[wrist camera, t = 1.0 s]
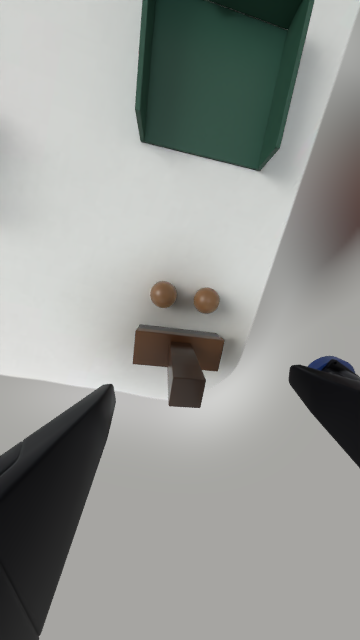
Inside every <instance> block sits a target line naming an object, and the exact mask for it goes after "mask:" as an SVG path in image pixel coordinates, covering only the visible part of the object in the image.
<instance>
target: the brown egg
mask: <svg viewBox="0 0 360 640" xmlns="http://www.w3.org/2000/svg"><path fill="white" fill-rule="evenodd" d="M150 297H151V300H152V302H153V303H154V304H155V305H156V306H158V307H160V308H167V307H170V306H172V305H173V304H174V302H175V301H176V298H177V292H176V289H175V287H174V286H173V285H172V284H171V283H169V282H166V281H160V282H157V283H156V284H155V285H154V286H153V287H152V289H151V292H150Z"/></svg>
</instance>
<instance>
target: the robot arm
mask: <svg viewBox="0 0 360 640" xmlns="http://www.w3.org/2000/svg"><path fill="white" fill-rule="evenodd" d="M289 383H290V385H291V386H292V388H293V389H294V390H295V392H296V393H297V394H298V396H299V397H300V398H301V400H302V401H303V402H304V404H305V405H306V406H307V408H308V409H309V410H310V412H311V413H312V414H313V415H314V416H315V417H316V419H317V420H318V421H319V422H320V423H321V424H322V426H323V427H324V428H325V429H326V430H327V431H328V432H329V434H330V435H331V436H332V437H333V438H334V439H335V440H336V441H337V442H338V444H339V445H340V446H341V447H342V448H343V449H344V451H345V452H346V453H347V454H348V455H349V456H350V457H351V459H352V460H353V461H354V462H355V463H356V464H357V465H358V466H359V468H360V377H359V376H358V375H356V374H355V373H354V372H352V371H351V370H350V369H348V368H347V367H346V366H344V365H343V364H341V363H340V362H339V361H337V360H335V359H331V360H330V361H329V362H328V363H327V365H326V366H325V367H324V368H323V369H322V370H317V369H313V368H310V367H306V366H302V365H292V366H291V367H290V372H289ZM115 403H116V398H115V392H114V387H113V385H112V384H105V385H102V386H101V387H99V388H98V389H96V390H95V391H94V392H92V393H91V394H89V395H88V396H86V397H85V398H83V399H82V400H81V401H79V402H78V403H76V404H75V405H73V406H72V407H70V408H69V409H68V410H66V411H65V412H63V413H62V414H60V415H59V416H58V417H56V418H54V419H53V420H52V421H50V422H49V423H47V424H46V425H45V426H43V427H41V428H40V429H39V430H37V431H36V432H34V433H33V434H31V435H30V436H29V437H27V438H26V439H24V440H23V442H20V443H19V444H17V445H15V446H14V447H12V448H11V449H10V450H8V451H7V452H5V453H4V454H2V455H1V456H0V640H39V635H40V634H41V632H42V629H43V626H44V623H45V620H46V617H47V614H48V611H49V608H50V605H51V602H52V599H53V596H54V593H55V591H56V587H57V585H58V581H59V579H60V576H61V573H62V570H63V567H64V564H65V561H66V558H67V555H68V552H69V549H70V546H71V544H72V540H73V537H74V535H75V532H76V529H77V526H78V523H79V520H80V517H81V514H82V511H83V508H84V505H85V502H86V499H87V497H88V494H89V491H90V488H91V485H92V482H93V479H94V476H95V473H96V470H97V467H98V464H99V461H100V458H101V455H102V452H103V449H104V446H105V444H106V441H107V437H108V433H109V429H110V425H111V421H112V416H113V412H114V407H115Z"/></svg>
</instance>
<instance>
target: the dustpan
mask: <svg viewBox="0 0 360 640" xmlns="http://www.w3.org/2000/svg"><path fill="white" fill-rule="evenodd" d="M209 1H211V2H214V3H216V4H214V3H211V2H209ZM217 4H219V5H217ZM313 4H314V0H208V1H206V0H143V1H142V16H141V31H140V45H139V60H138V74H137V89H136V103H135V111H136V117H137V123H138V129H139V134H140V141H141V142H145V143H149V144H153V145H158V146H162V147H166V148H170V149H174V150H178V151H182V152H186V153H190V154H194V155H198V156H202V157H206V158H210V159H214V160H218V161H222V162H226V163H230V164H234V165H238V166H242V167H246V168H251V169H255V170H259V171H260V170H261V169H262V168H263V167H264V166H265V165H266V163H267V162H268V161H269V160H270V159H271V158H272V157H273V155H274V154H275V153H276V152H277V151H278V150H279V149H280V145H281V141H282V137H283V132H284V128H285V124H286V119H287V115H288V111H289V107H290V102H291V98H292V94H293V90H294V85H295V81H296V77H297V72H298V68H299V64H300V60H301V55H302V51H303V47H304V43H305V38H306V34H307V30H308V25H309V21H310V17H311V13H312V8H313ZM220 5H222V6H225V7H227V8H225V7H222V6H220ZM228 8H230V9H228ZM231 9H233V10H236V11H238V12H236V11H233V10H231ZM239 12H241V13H239ZM242 13H244V14H246V15H244V14H242ZM247 15H249V16H247ZM250 16H252V17H250ZM253 17H255V18H257V19H255V18H253ZM258 19H260V20H258ZM261 20H263V21H261ZM264 21H266V22H268V23H266V22H264ZM269 23H271V24H269ZM272 24H274V25H277V26H279V27H277V26H274V25H272ZM280 27H282V28H280ZM283 28H285V29H288V30H285V29H283Z"/></svg>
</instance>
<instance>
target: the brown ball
mask: <svg viewBox="0 0 360 640" xmlns="http://www.w3.org/2000/svg"><path fill="white" fill-rule="evenodd" d="M219 302H220V298H219V295H218V293H217V292H216V291H215V290H214V289H211V288H202V289H200V290H199V291H198V292H197V293H196V294H195V296H194V306H195V307H196V309H197V310H198V311H199V312H201V313H205V314H208V313H212V312H213V311H215V310H216V309H217V308H218V306H219Z"/></svg>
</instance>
